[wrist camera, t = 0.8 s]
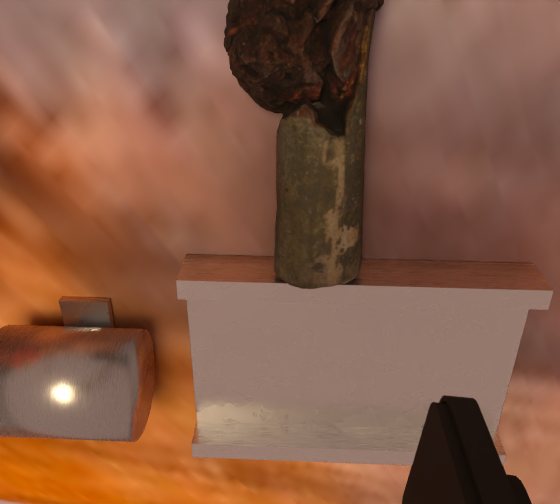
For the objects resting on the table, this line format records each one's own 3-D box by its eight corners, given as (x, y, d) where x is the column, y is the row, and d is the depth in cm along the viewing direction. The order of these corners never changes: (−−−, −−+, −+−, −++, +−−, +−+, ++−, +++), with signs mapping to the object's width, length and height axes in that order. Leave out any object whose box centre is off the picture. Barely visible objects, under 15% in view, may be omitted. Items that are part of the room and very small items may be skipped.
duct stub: (150, 299, 33) (115, 373, 27) (161, 386, 36) (132, 470, 30) (22, 295, 33) (-41, 368, 27) (44, 382, 37) (-8, 465, 30)
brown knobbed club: (358, 249, 31) (367, 303, 26) (243, 247, 32) (231, 300, 27) (385, -115, 23) (405, -137, 18) (228, -113, 23) (206, -134, 18)
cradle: (532, 263, 31) (553, 290, 28) (488, 433, 37) (502, 468, 34) (186, 254, 32) (176, 280, 29) (200, 422, 38) (192, 457, 35)
